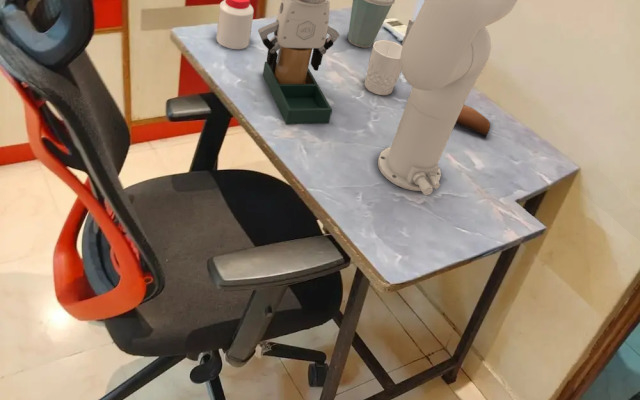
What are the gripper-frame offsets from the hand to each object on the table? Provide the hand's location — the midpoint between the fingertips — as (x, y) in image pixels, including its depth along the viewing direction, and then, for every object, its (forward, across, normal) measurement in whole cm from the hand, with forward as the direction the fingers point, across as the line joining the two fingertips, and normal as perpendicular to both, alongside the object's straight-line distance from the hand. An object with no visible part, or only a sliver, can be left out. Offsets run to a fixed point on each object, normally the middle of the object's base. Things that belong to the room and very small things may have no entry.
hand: (293, 67), depth 126 cm
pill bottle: (+5, -8, +20) cm, 22 cm away
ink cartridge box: (+5, +38, +11) cm, 40 cm away
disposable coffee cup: (+5, +26, +21) cm, 34 cm away
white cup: (+5, +22, 0) cm, 23 cm away
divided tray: (+5, 0, -4) cm, 7 cm away
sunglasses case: (+5, +35, -12) cm, 37 cm away
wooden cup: (+4, 0, 0) cm, 4 cm away
